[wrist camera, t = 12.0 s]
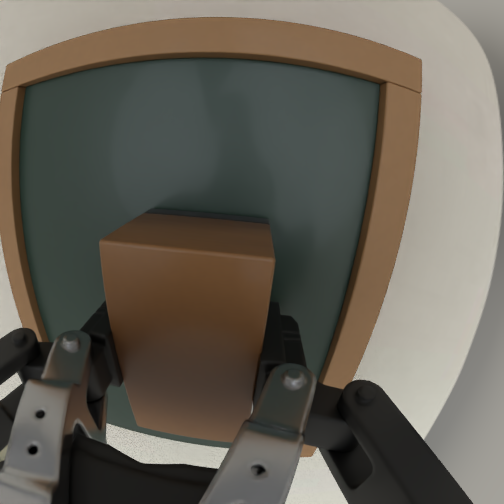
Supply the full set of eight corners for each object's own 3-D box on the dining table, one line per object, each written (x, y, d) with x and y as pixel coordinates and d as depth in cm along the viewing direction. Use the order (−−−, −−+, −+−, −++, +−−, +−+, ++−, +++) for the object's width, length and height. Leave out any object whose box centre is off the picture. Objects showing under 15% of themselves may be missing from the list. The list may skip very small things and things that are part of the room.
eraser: (150, 207, 10) (97, 239, 6) (269, 218, 10) (276, 258, 6) (160, 366, 13) (136, 426, 9) (248, 378, 13) (245, 444, 9)
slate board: (26, 68, 9) (6, 64, 7) (402, 68, 9) (422, 59, 7) (70, 397, 17) (61, 412, 15) (309, 438, 17) (311, 457, 15)
